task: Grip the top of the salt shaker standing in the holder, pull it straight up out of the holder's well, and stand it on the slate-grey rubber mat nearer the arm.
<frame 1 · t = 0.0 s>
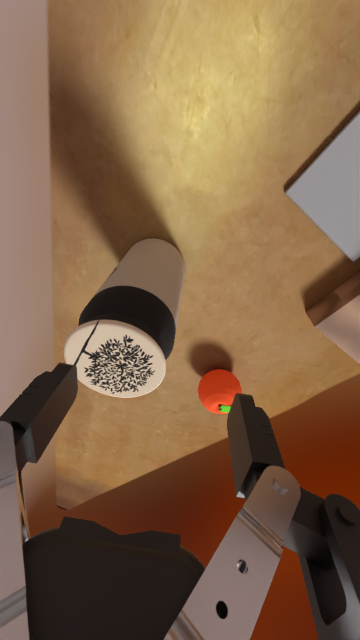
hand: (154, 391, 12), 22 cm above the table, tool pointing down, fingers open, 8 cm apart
clementine: (221, 374, 43), on the table
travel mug: (155, 267, 33), on the table
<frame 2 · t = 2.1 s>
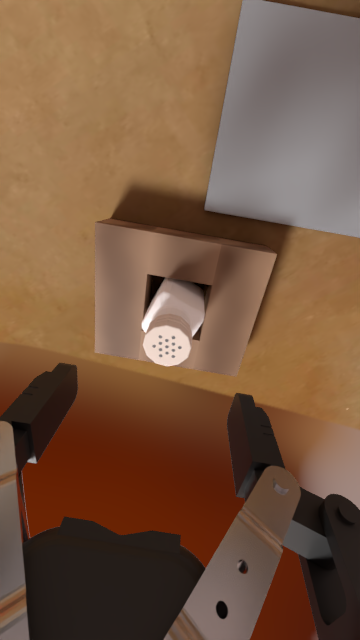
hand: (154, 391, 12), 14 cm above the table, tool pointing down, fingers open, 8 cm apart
salt shaker: (178, 294, 25), resting in shaker holder
placemat: (326, 141, 18), on the table
shaker holder: (177, 294, 25), on the table
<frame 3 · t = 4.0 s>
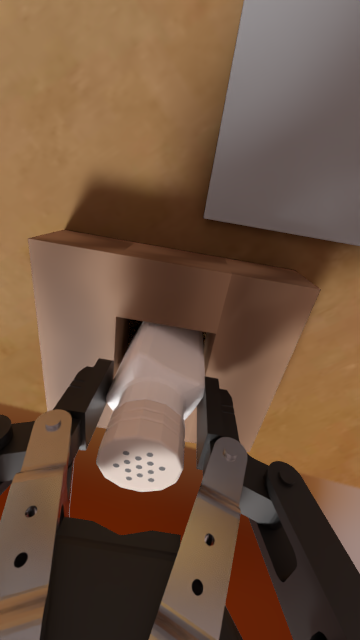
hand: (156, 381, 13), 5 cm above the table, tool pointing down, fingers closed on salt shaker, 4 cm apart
salt shaker: (166, 334, 18), resting in shaker holder, touching gripper
shaker holder: (166, 335, 17), on the table
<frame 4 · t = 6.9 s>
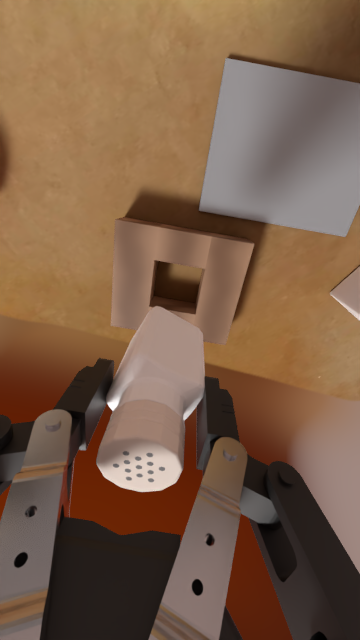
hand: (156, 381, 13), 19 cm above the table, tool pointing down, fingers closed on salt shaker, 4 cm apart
salt shaker: (166, 334, 18), point 14 cm above the table, touching gripper
placemat: (290, 158, 24), on the table
shaker holder: (178, 279, 30), on the table
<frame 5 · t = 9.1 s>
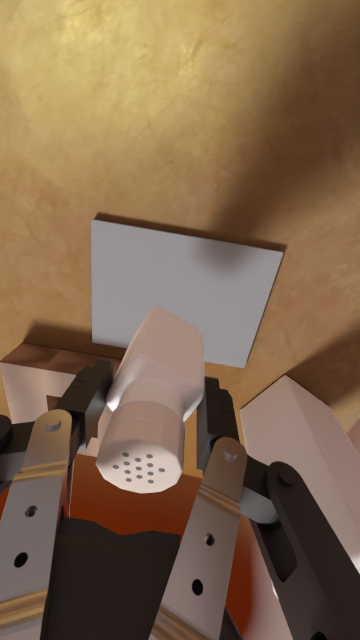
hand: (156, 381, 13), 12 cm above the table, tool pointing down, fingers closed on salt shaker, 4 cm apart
salt shaker: (166, 335, 18), point 7 cm above the table, touching gripper
placemat: (177, 300, 24), on the table
shaker holder: (86, 394, 30), on the table
milk carton: (282, 406, 29), on the table
when the fingers open (7 cm above the table, at t = 10.3 s): salt shaker drops 2 cm, resting on placemat.
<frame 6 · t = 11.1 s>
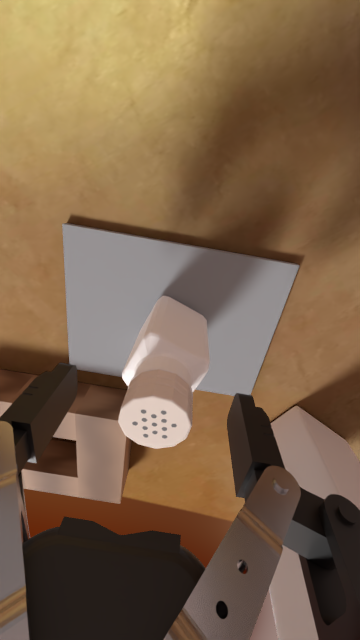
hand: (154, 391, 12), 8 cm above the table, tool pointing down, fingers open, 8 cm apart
salt shaker: (173, 322, 19), resting on placemat
placemat: (170, 320, 20), on the table
shaker holder: (65, 424, 26), on the table
milk carton: (291, 438, 25), on the table
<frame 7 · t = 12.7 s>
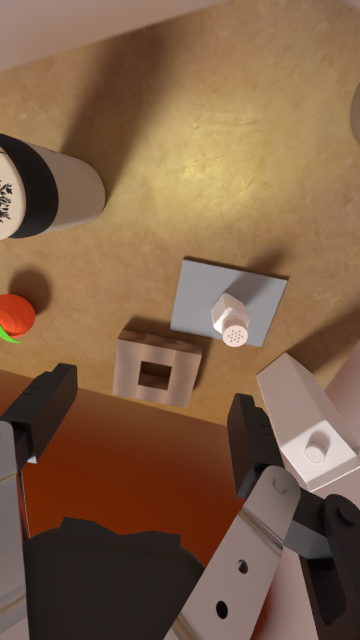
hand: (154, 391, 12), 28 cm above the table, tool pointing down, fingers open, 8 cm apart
salt shaker: (226, 306, 40), resting on placemat
clementine: (26, 309, 43), on the table
placemat: (224, 305, 40), on the table
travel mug: (78, 192, 34), on the table
shaker holder: (157, 363, 46), on the table
milk carton: (282, 373, 46), on the table
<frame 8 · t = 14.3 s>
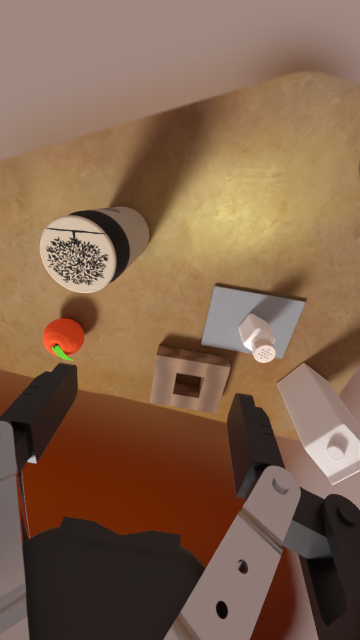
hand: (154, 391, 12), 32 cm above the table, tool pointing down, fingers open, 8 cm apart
salt shaker: (252, 324, 45), resting on placemat
clementine: (74, 329, 49), on the table
placemat: (249, 323, 46), on the table
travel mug: (125, 233, 40), on the table
shaker holder: (188, 374, 52), on the table
milk carton: (300, 380, 51), on the table
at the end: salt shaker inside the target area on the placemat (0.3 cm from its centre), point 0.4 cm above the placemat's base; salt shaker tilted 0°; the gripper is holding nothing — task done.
